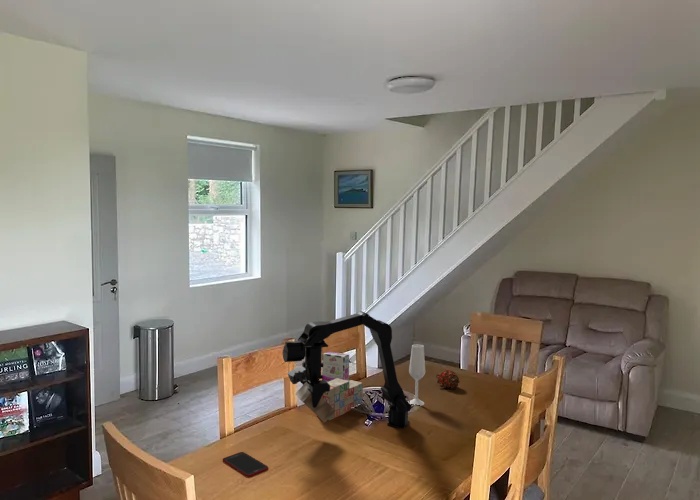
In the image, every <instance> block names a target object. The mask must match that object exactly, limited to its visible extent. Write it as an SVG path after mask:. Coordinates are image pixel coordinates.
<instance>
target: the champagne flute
mask: <svg viewBox="0 0 700 500" xmlns="http://www.w3.org/2000/svg"><path fill="white" fill-rule="evenodd" d="M410 351H411V352H410V361H409V367H408V373H409V375H410V377H411V378H412V379H413V380H414V381H415V383H414V387H415V389H414V398H413V399H411V400H409V401H410V404H414V405H415V404H417V405H420V406H419V407H422V406H424V405H425V402H424V401H422V400H421V399H419V381H420V380H421V379H422V378H424V376H425V374H426V362H425V359H426V357H425V346H424V344H419V343H417V344H412V345H411V350H410Z"/></svg>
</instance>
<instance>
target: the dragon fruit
mask: <svg viewBox="0 0 700 500" xmlns="http://www.w3.org/2000/svg"><path fill="white" fill-rule="evenodd" d="M435 377H436V378H437V379H436V383H437V384H439V385H440V384H441V386H442V388H444V389H446V388H448V389H451V390H453V388H457V387H458V386H459V383H460V382H461V381H460V378H459V376H458V375H457V374H456V372H455V371H454V370H450V369H445V370H444V371H443V372H440V373H437V374H436V376H435Z"/></svg>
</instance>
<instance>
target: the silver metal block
mask: <svg viewBox="0 0 700 500" xmlns="http://www.w3.org/2000/svg"><path fill="white" fill-rule="evenodd" d="M308 389H309V384H308V383H307V382H306V383H305V384H304V385H303V384H302V386H301V387H300V388H299V389H298V390H297V391H296V393H294V395H295V396H297V398H298V400H300V401H301V402H302V403H304V405H305V406H306V407H307V408H308V409H310V410H311V412H313V413H314V415H315V416H316V417H317V416H318V418H319V419H320V420H321V421H322V422H323V423H326V422H327V421H329V420H328V418H329V417H330V416H331V415H332V414H333V413H334V412H335V411H336V410H335V409H333V408H332V407H331V406H330V405H329V404H328V403H327V402H326V401H325V400H324V399H323V398H322V397H321V399H320V401H319V403H318V405H317V407H315V408H313V404H312V395H311V392H310V391H309V390H308Z"/></svg>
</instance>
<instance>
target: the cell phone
mask: <svg viewBox="0 0 700 500" xmlns="http://www.w3.org/2000/svg"><path fill="white" fill-rule="evenodd" d="M222 462H223V463H224V462H225V463H224V464H226V465H227V464H228V466H229V467H231V468H232V469H234V470H235V469H236V471H237V470H238V471H239V472H238V471H237V472H238V473H240V474H241V475H242V476H244V475H245V476H244V477H246V478H251V477H253V476H257V475H259V474H262V473H263V472H267V471H268V470H269V466H268V465H266V464H265V463H263V462H261V460H258V459H257V458H254V457H253V456H251V455H249V454H248V453H247V452H244V451H241V452H236V453H234V454H231V455H229V456H225V457H223V458H222Z"/></svg>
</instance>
